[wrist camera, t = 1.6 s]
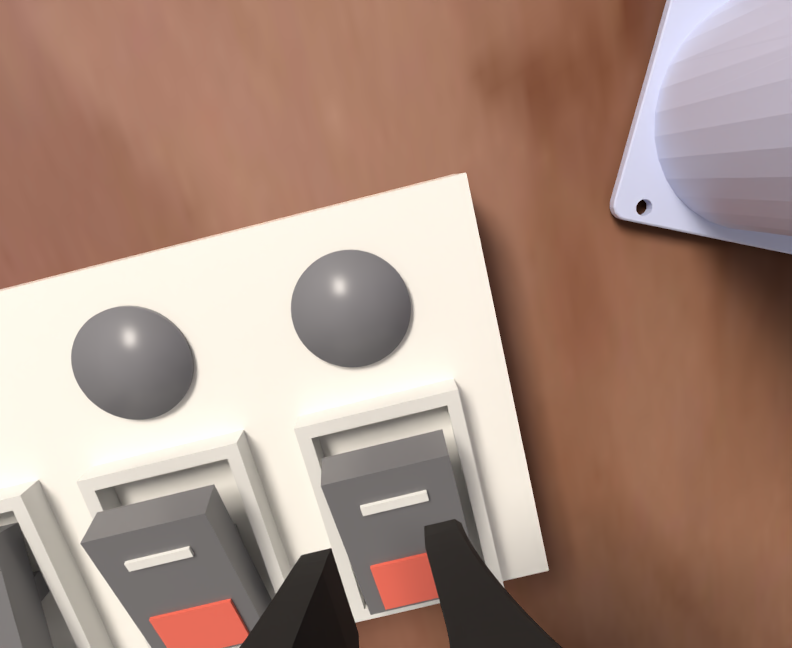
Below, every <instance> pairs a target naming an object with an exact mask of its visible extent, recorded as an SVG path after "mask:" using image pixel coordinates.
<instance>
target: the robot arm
mask: <svg viewBox="0 0 792 648" xmlns="http://www.w3.org/2000/svg"><path fill="white" fill-rule="evenodd" d="M641 200H644V201H645V202H646V204H647V206H646V210H645V212H644V213H643V214H641V215H639V214H638V213H637V211H636V205H637V204H638V202H639V201H641ZM610 210H611V213H612V214H613V215H614V216H615V217H616V218H618V219H621V220H626V221H631V222H636V223H641V224H646V225H650V226H655V227H660V228H665V229H670V230H675V231H680V232H685V233H690V234H694V235H699V236H704V237H709V238H714V239H719V240H724V241H729V242H734V243H739V244H743V245H748V246H753V247H758V248H763V249H768V250H773V251H778V252H783V253H788V254H792V0H667V1H666V4H665V8H664V11H663V15H662V18H661V22H660V26H659V29H658V33H657V36H656V40H655V43H654V47H653V50H652V54H651V58H650V61H649V65H648V68H647V72H646V75H645V79H644V83H643V86H642V90H641V93H640V97H639V100H638V104H637V107H636V111H635V115H634V118H633V122H632V125H631V129H630V132H629V136H628V140H627V143H626V147H625V150H624V154H623V157H622V161H621V165H620V168H619V172H618V175H617V179H616V182H615V186H614V189H613V193H612V197H611V200H610ZM424 537H425V549H426V552H427V556H428V560H429V564H430V567H431V571H432V575H433V578H434V582H435V586H436V590H437V593H438V597H439V601H440V604H441V608H442V612H443V616H444V619H445V623H446V627H447V631H448V636H449V642H450V648H562V647H561V646H560V645H559V644H558V643H556V642H555V641H554V640H553V639H552V638H551V637H550V636H549V635H548V634H547V633H546V632H545V631H544V630H543V629H542V628H541V627H540V626H539V625H538V624H537V623H536V622H535V621H534V620H533V619H532V618H531V617H530V616H529V615H528V614H527V613H526V612H525V611H524V610H523V609H522V608H521V607H520V605H519V604H518V603H517V602H516V601H515V600H514V599H513V598H512V597H511V595H510V594H509V593H508V592H507V591H506V590H505V588H504V587H503V586H502V585H501V583H500V582H499V581H498V580H497V578H496V577H495V576H494V575H493V573H492V572H491V571H490V570H489V568H488V567H487V566H486V564H485V563H484V562H483V560H482V559H481V557H480V556H479V554H478V553H477V551H476V550H475V548H474V547H473V545H472V544H471V542H470V540H469V538H468V537H467V535H466V533H465V531H464V528H463V526H462V523H461V522H459V521H457V520H456V519H452V520H448V521H444V522H440V523H435V524H431V525H427V526H424ZM239 648H359V636H358V630H357V627H356V624H355V621H354V618H353V615H352V612H351V608H350V605H349V602H348V599H347V596H346V593H345V590H344V586H343V583H342V580H341V577H340V574H339V571H338V567H337V564H336V561H335V558H334V555H333V552H332V549H331V548H329V549H325V550H321V551H317V552H312V553H308V554H304V555H301V556H300V558H299V559H298V561H297V562H296V564H295V565H294V567H293V568H292V570H291V571H290V573H289V574H288V576H287V577H286V579H285V580H284V582H283V584H282V585H281V587H280V588H279V590H278V591H277V593H276V594H275V596H274V598H273V599H272V601H271V602H270V604H269V605H268V607H267V608H266V610H265V611H264V613H263V614H262V616H261V617H260V619H259V620H258V622H257V623H256V625H255V626H254V628H253V629H252V631H251V632H250V633H249V635H248V636H247V638H246V639H245V641H244V642H243V643H242V645H241V646H240V647H239Z"/></svg>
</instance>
